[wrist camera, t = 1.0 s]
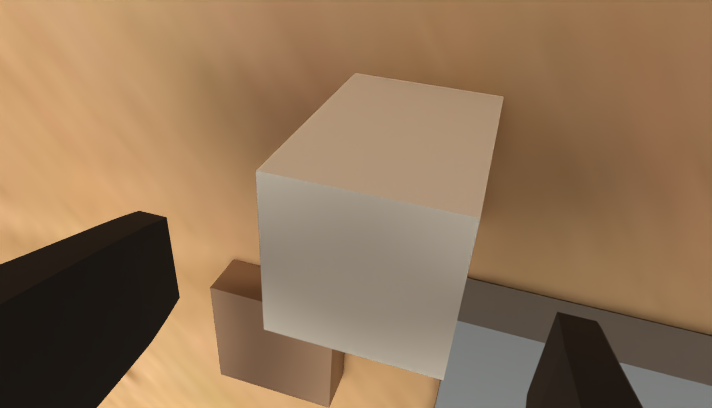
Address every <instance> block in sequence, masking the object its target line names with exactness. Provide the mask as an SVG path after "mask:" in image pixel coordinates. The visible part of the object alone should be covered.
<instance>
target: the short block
mask: <svg viewBox="0 0 712 408" xmlns="http://www.w3.org/2000/svg"><path fill="white" fill-rule="evenodd" d="M210 290H211V298H212V306H213V314H214V322H215V330H216V338H217V346H218V354H219V361H220V369H221V374H222V375H226V376H229V377H232V378H235V379H238V380H242V381H245V382H248V383H251V384H254V385H258V386H261V387H264V388H267V389H270V390H274V391H277V392H280V393H283V394H286V395H290V396H293V397H296V398H299V399H302V400H306V401H309V402H312V403H315V404H319V405H322V406H325V407H328V408H329V407H330V405H331V402H332V400H333V397H334V395H335V392H336V390H337V388H338V385H339V383H340V380H341V378H342V375H343V369H344V354H345V352H341V351H338V350H334V349H331V348H327V347H324V346H320V345H317V344H313V343H310V342H306V341H303V340H299V339H296V338H292V337H289V336H285V335H282V334H278V333H275V332H271V331H268V330H264V323H263V304H262V284H261V266H258V265H254V264H250V263H246V262H242V261H238V260H233V261H232V262H231V263H230V265H229V266H228V267H227V268H226V269H225V271H224V272H223V273H222V274H221V275H220V277H219V278H218V279H217V280H216V281H215V283H214V284H213V285H212V286H211V287H210Z"/></svg>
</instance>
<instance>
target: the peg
mask: <svg viewBox="0 0 712 408" xmlns="http://www.w3.org/2000/svg"><path fill="white" fill-rule="evenodd" d="M503 99H504V96H498V95H492V94H485V93H479V92H473V91H467V90H460V89H454V88H448V87H441V86H435V85H429V84H423V83H416V82H410V81H404V80H398V79H391V78H385V77H379V76H372V75H366V74H360V73H354V74H353V75H352V76H351V77H350V78H349V79H348V80H347V81H346V82H345V83H344V84H343V85H342V86H341V87H340V88H339V89H338V90H337V91H336V92H335V93H334V94H333V95H332V96H331V97H330V98H329V99H328V100H327V101H326V102H325V103H324V104H323V105H322V106H321V107H320V108H319V109H318V110H317V111H316V112H315V113H314V114H313V115H312V116H311V117H310V118H309V119H308V120H307V121H306V122H305V123H304V124H303V125H302V126H301V127H300V128H299V129H297V130H296V131H295V132H294V133H293V134H292V135H291V136H290V137H289V138H288V139H287V140H286V141H285V142H284V143H283V144H282V145H281V146H280V147H279V148H278V149H277V150H276V151H275V152H274V153H273V154H272V155H271V156H270V157H269V158H268V159H267V160H266V161H265V162H264V163H263V164H262V165H261V166H260V167H259V168H258V169H257V170H256V186H257V205H258V225H259V245H260V264H261V284H262V304H263V323H264V330H268V331H271V332H275V333H278V334H282V335H285V336H289V337H292V338H296V339H299V340H303V341H306V342H310V343H313V344H317V345H320V346H324V347H327V348H331V349H334V350H338V351H341V352H345V353H348V354H352V355H355V356H359V357H362V358H366V359H369V360H373V361H376V362H380V363H383V364H387V365H390V366H394V367H397V368H401V369H404V370H408V371H411V372H415V373H418V374H422V375H425V376H429V377H432V378H436V379H439V380H444V376H445V371H446V367H447V363H448V358H449V354H450V349H451V345H452V341H453V336H454V332H455V327H456V323H457V319H458V314H459V310H460V305H461V301H462V297H463V292H464V288H465V284H466V279H467V275H468V270H469V266H470V262H471V257H472V253H473V248H474V244H475V240H476V235H477V231H478V226H479V222H480V217H481V212H482V207H483V202H484V197H485V192H486V187H487V181H488V176H489V171H490V166H491V161H492V156H493V150H494V145H495V140H496V135H497V130H498V125H499V119H500V114H501V109H502V104H503Z"/></svg>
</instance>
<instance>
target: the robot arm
mask: <svg viewBox="0 0 712 408" xmlns="http://www.w3.org/2000/svg"><path fill="white" fill-rule="evenodd" d="M179 298H180V297H179V290H178V284H177V278H176V272H175V266H174V260H173V254H172V248H171V242H170V236H169V229H168V223H167V217H163V216H159V215H154V214H150V213H146V212H142V211H137V212H134V213H131V214H128V215H125V216H122V217H119V218H116V219H114V220H111V221H108V222H106V223H103V224H101V225H98V226H96V227H93V228H91V229H88V230H86V231H83V232H81V233H78V234H76V235H73V236H71V237H68V238H66V239H63V240H61V241H58V242H56V243H53V244H51V245H48V246H46V247H43V248H41V249H38V250H36V251H33V252H31V253H29V254H26V255H24V256H21V257H19V258H16V259H13V260H11V261H8V262H6V263H3V264H0V408H97V407H98V406H99V404H100V403H101V402H102V401H103V400H104V398H105V397H106V396H107V395H108V394H109V393H110V391H111V390H112V389H113V388H114V387H115V385H116V384H117V383H118V382H119V381H120V380H121V378H122V377H123V376H124V375H125V374H126V372H127V371H128V370H129V369H130V368H131V366H132V365H133V364H134V363H135V362H136V360H137V359H138V358H139V357H140V355H141V354H142V353H143V352H144V351H145V349H146V348H147V347H148V346H149V344H150V343H151V342H152V340H153V339H154V337H155V336H156V334H157V333H158V331H159V330H160V328H161V327H162V325H163V324H164V322H165V321H166V319H167V318H168V316H169V314H170V313H171V311H172V309H173V308H174V306H175V304H176V303H177V301H178V299H179ZM526 408H643V406H642V404H641V403H640V401H639V399H638V397H637V395H636V393H635V392H634V390H633V388H632V386H631V384H630V382H629V380H628V379H627V377H626V375H625V373H624V371H623V369H622V367H621V365H620V363H619V361H618V359H617V357H616V355H615V353H614V351H613V349H612V347H611V346H610V344H609V342H608V340H607V338H606V336H605V334H604V332H603V330H602V328H601V326H600V325H599V323H598V322H597V321H594V320H590V319H586V318H582V317H578V316H573V315H569V314H565V313H561V312H557V313H556V316H555V319H554V322H553V324H552V327H551V330H550V332H549V335H548V338H547V341H546V343H545V346H544V349H543V352H542V354H541V357H540V360H539V363H538V365H537V368H536V371H535V373H534V376H533V379H532V382H531V384H530V387H529V390H528V393H527V399H526Z"/></svg>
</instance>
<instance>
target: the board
mask: <svg viewBox="0 0 712 408" xmlns="http://www.w3.org/2000/svg"><path fill="white" fill-rule="evenodd" d="M557 312H561V313H565V314H569V315H573V316H578V317H582V318H586V319H590V320H594V321H597V322H598V323H599V325H600V326H601V328H602V330H603V332H604V334H605V336H606V338H607V340H608V342H609V344H610V346H611V347H612V349H613V351H614V353H615V355H616V357H617V359H618V361H619V363H620V365H621V367H622V369H623V371H624V373H625V375H626V377H627V379H628V380H629V382H630V384H631V386H632V388H633V390H634V392H635V393H636V395H637V397H638V399H639V401H640V403H641V404H642V406H643V408H712V336H709V335H704V334H700V333H696V332H692V331H688V330H683V329H679V328H675V327H671V326H667V325H662V324H658V323H654V322H650V321H646V320H642V319H637V318H633V317H629V316H625V315H621V314H616V313H612V312H608V311H604V310H600V309H595V308H591V307H587V306H583V305H579V304H574V303H570V302H566V301H562V300H558V299H553V298H549V297H545V296H541V295H537V294H533V293H528V292H524V291H520V290H516V289H512V288H507V287H503V286H499V285H495V284H491V283H486V282H482V281H478V280H474V279H470V278H467V279H466V284H465V288H464V292H463V297H462V301H461V305H460V310H459V314H458V319H457V323H456V327H455V332H454V336H453V341H452V345H451V349H450V354H449V358H448V363H447V367H446V371H445V376H444V380H441V381H440V385H439V390H438V394H437V399H436V403H435V408H526V399H527V393H528V390H529V387H530V384H531V382H532V379H533V376H534V373H535V371H536V368H537V365H538V363H539V360H540V357H541V354H542V352H543V349H544V346H545V343H546V341H547V338H548V335H549V332H550V330H551V327H552V324H553V322H554V319H555V316H556V313H557Z"/></svg>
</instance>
